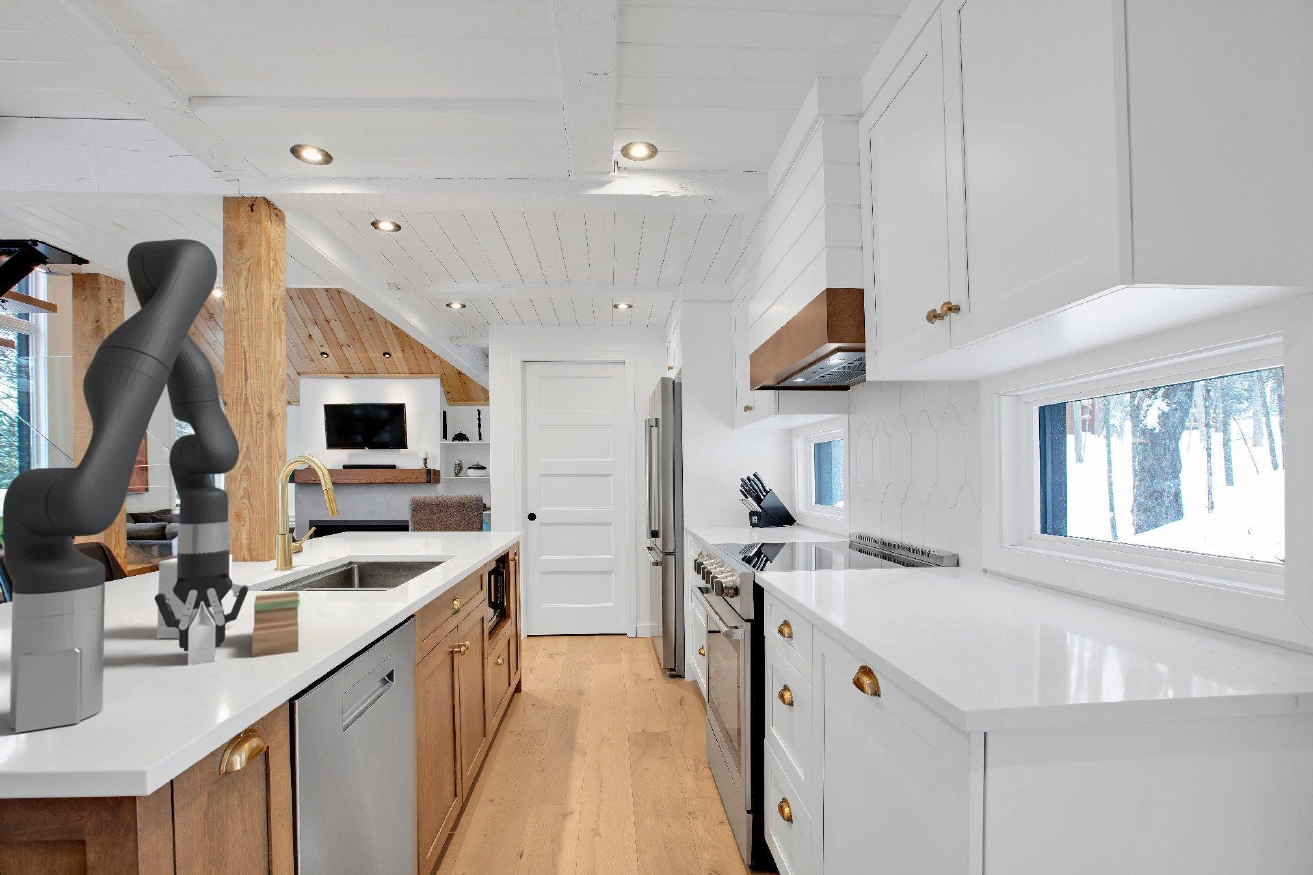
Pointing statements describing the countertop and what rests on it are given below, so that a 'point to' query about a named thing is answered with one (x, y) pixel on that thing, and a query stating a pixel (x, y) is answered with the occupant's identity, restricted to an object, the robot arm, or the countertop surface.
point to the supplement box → (167, 583)
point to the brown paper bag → (275, 624)
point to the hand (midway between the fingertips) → (202, 647)
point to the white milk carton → (202, 636)
